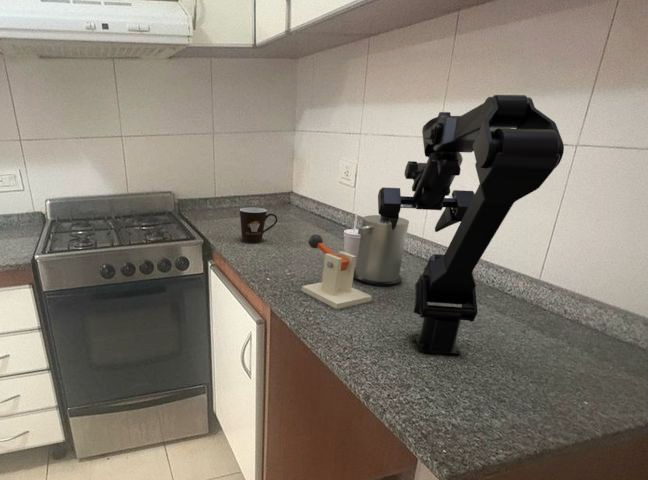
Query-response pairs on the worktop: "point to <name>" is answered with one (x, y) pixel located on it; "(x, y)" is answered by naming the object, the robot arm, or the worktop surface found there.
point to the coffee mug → (253, 224)
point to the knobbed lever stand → (337, 283)
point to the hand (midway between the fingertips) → (414, 229)
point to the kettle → (380, 251)
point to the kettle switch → (326, 249)
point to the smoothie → (352, 241)
